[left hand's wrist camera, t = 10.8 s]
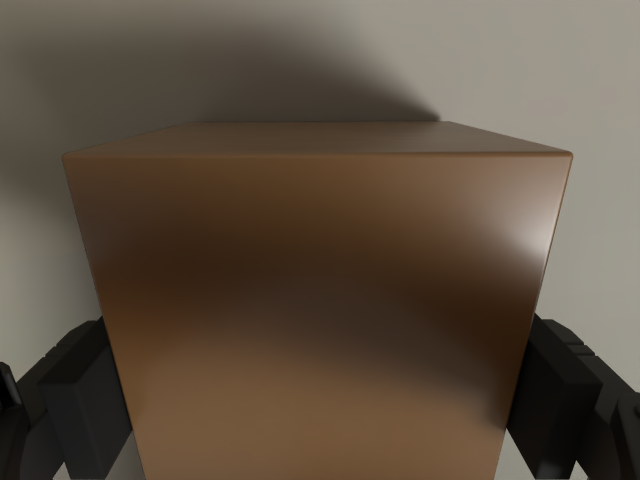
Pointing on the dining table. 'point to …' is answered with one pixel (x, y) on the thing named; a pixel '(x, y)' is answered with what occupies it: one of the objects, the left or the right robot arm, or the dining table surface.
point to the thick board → (318, 292)
